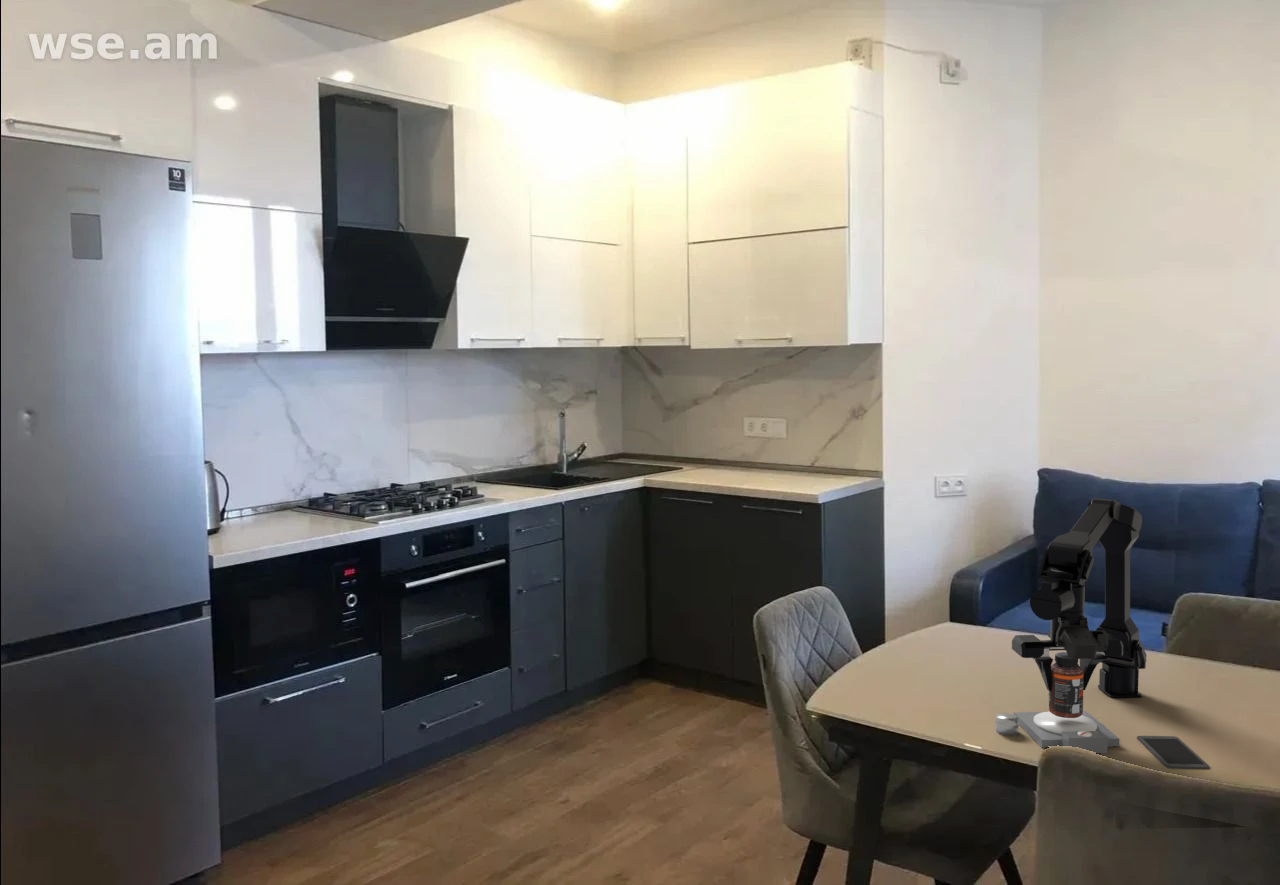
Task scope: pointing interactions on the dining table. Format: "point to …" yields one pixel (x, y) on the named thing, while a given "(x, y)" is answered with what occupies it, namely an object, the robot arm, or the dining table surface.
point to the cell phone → (1173, 752)
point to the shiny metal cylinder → (1007, 724)
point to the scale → (1067, 731)
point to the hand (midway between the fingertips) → (1065, 690)
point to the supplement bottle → (1066, 687)
